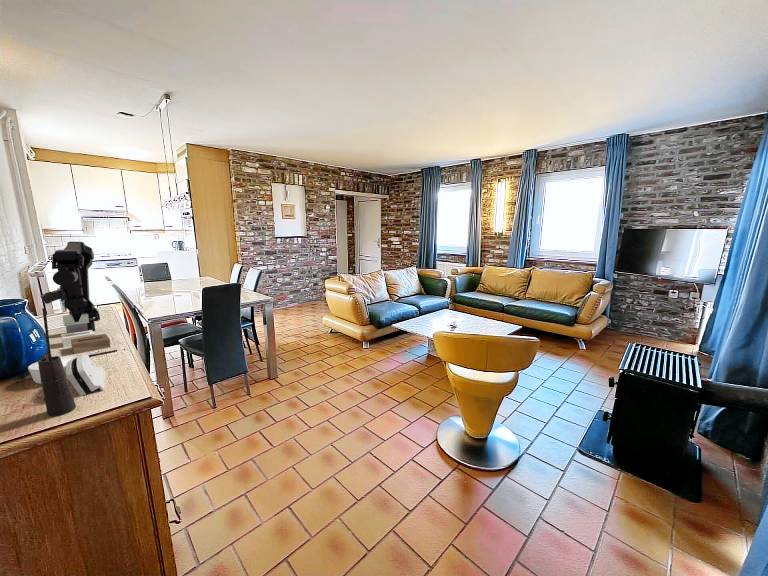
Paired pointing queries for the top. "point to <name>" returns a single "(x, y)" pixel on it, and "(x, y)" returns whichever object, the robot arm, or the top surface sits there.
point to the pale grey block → (76, 323)
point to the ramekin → (36, 374)
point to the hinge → (85, 374)
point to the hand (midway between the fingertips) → (76, 320)
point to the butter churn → (54, 381)
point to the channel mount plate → (91, 344)
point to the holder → (74, 337)
